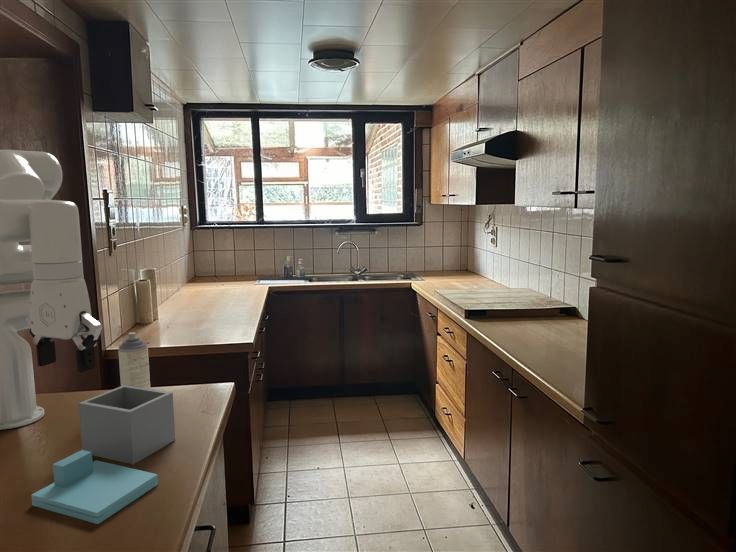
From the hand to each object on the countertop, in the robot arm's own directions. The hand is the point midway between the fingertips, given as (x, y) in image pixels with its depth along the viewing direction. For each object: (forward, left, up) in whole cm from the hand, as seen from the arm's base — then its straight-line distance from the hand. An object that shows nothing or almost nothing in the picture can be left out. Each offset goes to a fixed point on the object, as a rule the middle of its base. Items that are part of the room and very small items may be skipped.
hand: (66, 367), depth 94 cm
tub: (-4, +17, -23) cm, 29 cm away
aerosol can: (-19, +34, -23) cm, 46 cm away
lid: (+5, 0, -23) cm, 24 cm away
